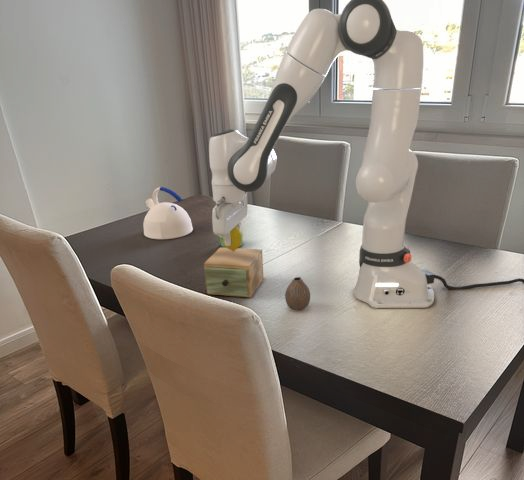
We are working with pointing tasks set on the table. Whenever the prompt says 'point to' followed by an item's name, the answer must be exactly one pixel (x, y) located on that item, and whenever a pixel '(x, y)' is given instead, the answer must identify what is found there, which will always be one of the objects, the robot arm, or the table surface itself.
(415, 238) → the table surface
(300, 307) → the vase
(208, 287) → the drawer
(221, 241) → the ramekin
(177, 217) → the kettle
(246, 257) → the cabinet
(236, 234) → the lemon
